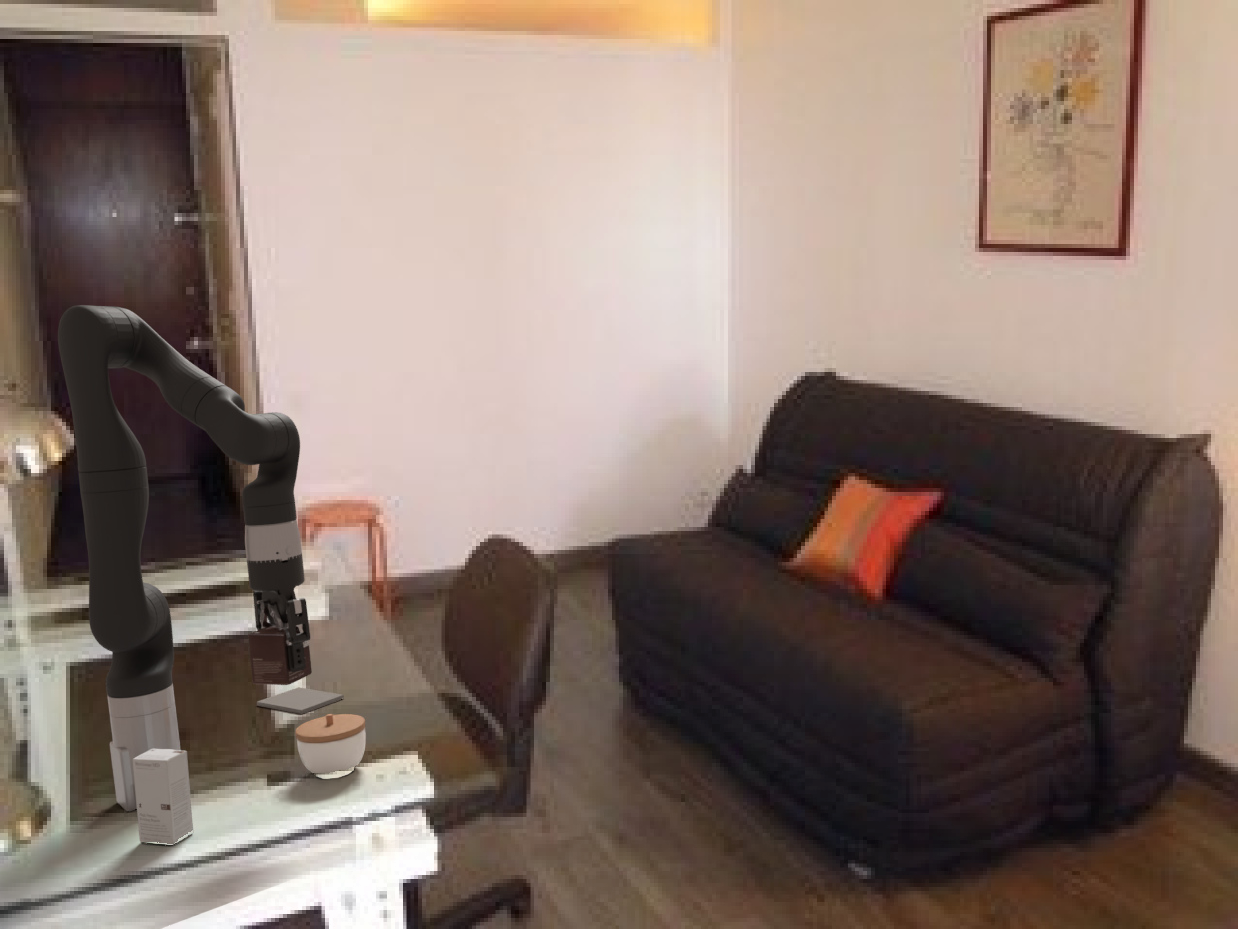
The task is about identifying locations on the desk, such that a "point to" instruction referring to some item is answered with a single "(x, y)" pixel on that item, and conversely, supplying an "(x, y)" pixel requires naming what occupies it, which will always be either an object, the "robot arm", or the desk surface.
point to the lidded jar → (331, 742)
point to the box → (273, 658)
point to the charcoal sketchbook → (300, 700)
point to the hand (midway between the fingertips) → (285, 665)
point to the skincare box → (162, 795)
